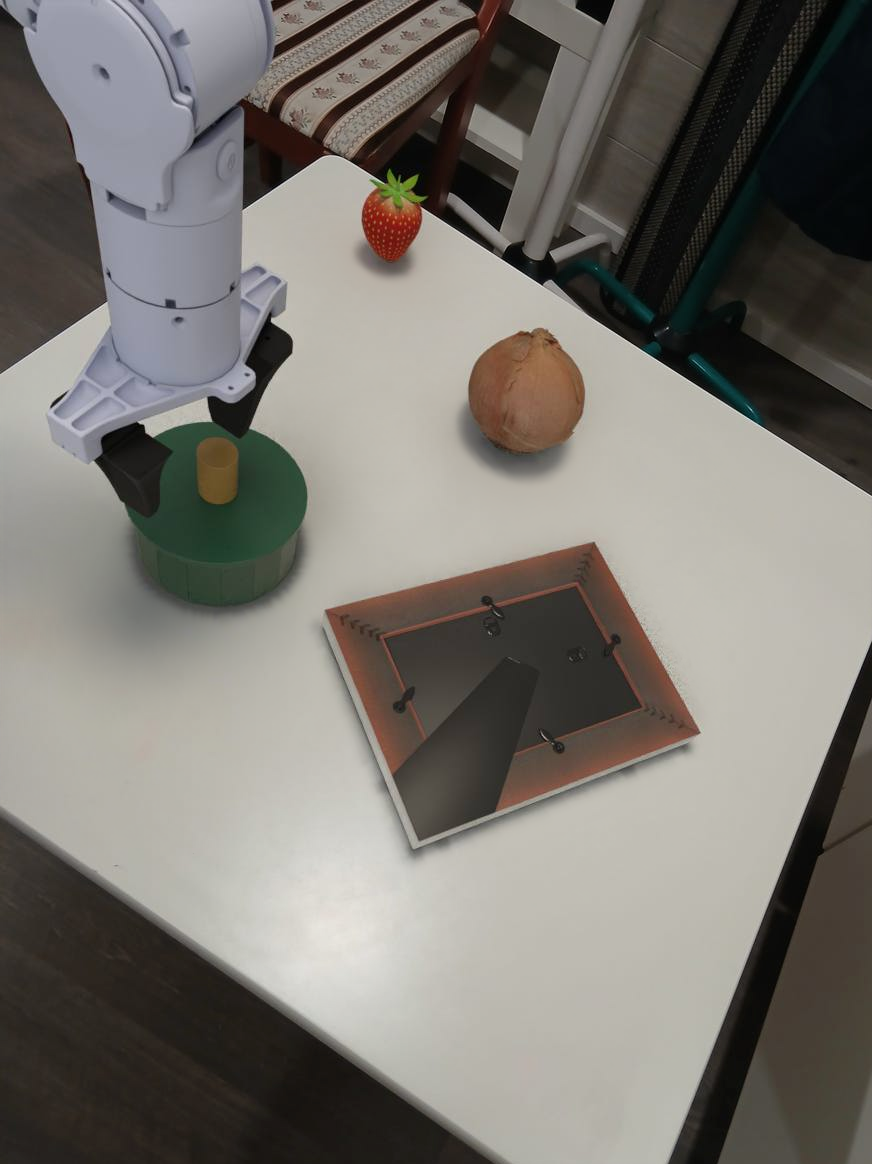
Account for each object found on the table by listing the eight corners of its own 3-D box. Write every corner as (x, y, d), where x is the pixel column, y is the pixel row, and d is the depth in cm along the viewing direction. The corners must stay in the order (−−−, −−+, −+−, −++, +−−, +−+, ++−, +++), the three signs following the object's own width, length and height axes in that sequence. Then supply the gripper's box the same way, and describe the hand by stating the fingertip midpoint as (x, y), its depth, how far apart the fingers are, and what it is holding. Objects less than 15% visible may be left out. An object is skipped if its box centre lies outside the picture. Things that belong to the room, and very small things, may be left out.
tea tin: (105, 559, 56) (94, 510, 51) (194, 459, 61) (192, 407, 57) (244, 632, 56) (246, 590, 51) (321, 526, 61) (329, 479, 57)
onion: (488, 421, 75) (513, 304, 69) (584, 457, 72) (618, 339, 66) (435, 446, 67) (459, 318, 62) (540, 488, 64) (575, 357, 59)
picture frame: (411, 852, 52) (686, 745, 60) (419, 841, 50) (702, 732, 58) (320, 625, 57) (583, 558, 66) (324, 607, 55) (595, 540, 64)
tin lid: (85, 517, 51) (73, 468, 47) (190, 406, 57) (188, 354, 53) (248, 603, 51) (250, 561, 47) (336, 483, 57) (344, 437, 53)
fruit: (404, 285, 76) (422, 205, 69) (349, 265, 75) (361, 182, 68) (418, 250, 78) (437, 169, 72) (365, 230, 78) (378, 147, 71)
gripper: (127, 403, 32) (153, 586, 44) (345, 238, 40) (319, 431, 52) (-19, 305, 33) (44, 512, 44) (225, 160, 40) (225, 369, 52)
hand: (185, 464), depth 48 cm, fingers open, 7 cm apart
